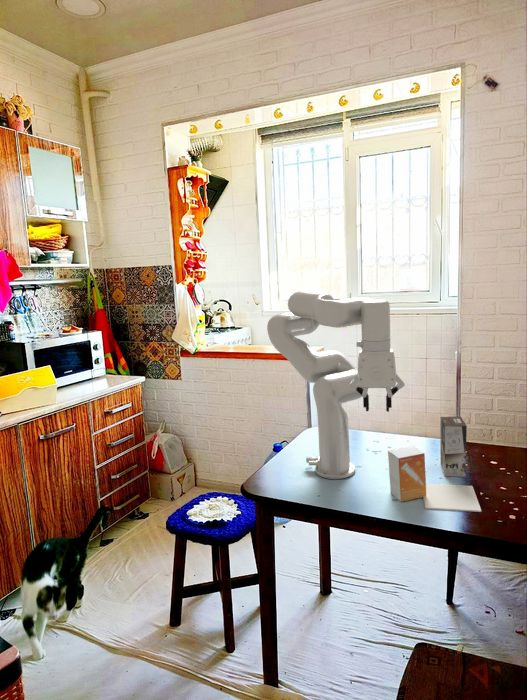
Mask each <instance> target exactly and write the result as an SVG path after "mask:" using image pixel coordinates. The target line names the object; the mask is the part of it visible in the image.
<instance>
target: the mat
mask: <svg viewBox="0 0 527 700" xmlns="http://www.w3.org/2000/svg"><path fill="white" fill-rule="evenodd" d="M422 498H423V503H424V504H423V505H424V508H425V510H439V511H458V512H459V511H460V512H471V513H472V512H474V513H475V512H476V513H477V512H478V513H482V509H481V506H480V503H479V500H478V498H477V495H476V492H475V489H474V487H473V485H463V484H441V483H439V484H438V483H437V484H436V483H426V497H422Z"/></svg>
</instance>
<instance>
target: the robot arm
mask: <svg viewBox="0 0 527 700" xmlns="http://www.w3.org/2000/svg"><path fill="white" fill-rule="evenodd" d="M390 307H391V305H390V302H389V301H388V300H386V299H374V298H369V297H366V296H365V297H364V296H363V297H362V296H361V297H352V298H345V299H344V298H343V299H338V300H337V299H336V300H335V299H334V297H333V296H332V295H331V294H330V293H329V292H328V291H327V290H325V289H321V288H315V289H307V290H305V289H304V290H300V291H297V292H294V293H293V294H291V296H289V298H288V299H287V308H288V310H289V311H287V312H282V313H277V314H275V315H274V316H271V317H270V319H269V320H268V322H267V326H266V328H267V329H266V330H267V335H268V337H269V340H270V342H271V344H272V346H273V348H274V349H275V350H276V351H277V352H279V353H280V354H281V356H283V357H285V358H286V359H287V361H288V362H289V363H290V364H291V365H292V366H293V368H294V369H295V370H296V372H298V374H299V375H300V376H301V377H302V378H303V380H305V381H306V382H307V383H310V384H311V383H312V384H313V387H312V392H313V393H312V394H313V398H314V402H315V406H316V413H317V415H316V416H317V427H318V428H317V431H318V452H319V455H317V456H316V457H315V456H306V457H305V458H306V459H305V461H306V464H308V466H315V468H314V469H315V470H314V471H315V473H316V475H318V476H320V477H322V478H323V479H324V478H325V479H329V480H341V479H346V478H348V477H351V476H353V475H354V474H355V473H356V466H355V465H354V464H353V463H352V462H351V459H350V457H351V456H350V434H349V433H350V432H349V431H350V430H349V427H350V426H349V417H348V414H347V412H346V411H345V410H344V408H343V404H346V403H349V402H352V401H356V400H358V399H361V398H362V399H363V400H362V402H363V403H362V405H363V408H365V412H368V411H370V403H369V402H370V397H369V396H370V395H369V393H368V392H369V389H385V391H386V396H385V407H386V408H385V410H386V412H388V413H389V412H390V409H392V404H393V403H392V398H393V396H394V395H395V394H396V393H397V392H399V390H401V389H402V388H403V387H405V382H404V381H403V379H402V378H401V377H400V376H399V375H398V374H397V369H396V357H395V353H394V349H392V348H391V308H390ZM320 325H321V326H325V327H331V328H337V329H338V328H340V329H341V328H347V327H352V326H358V325H360V326H361V340H360V341H356V347H359V348H361V350H359V353H358V357H357V367H356V366H355V365H354V364H353V363H352V362H351V360H349V359H348V358H347V357H346V355H344V354H343V353H342V352H340V351H338V350H334V349H330V350H325V351H324V350H323V351H316V350H314V349H313V348H312V347H311V346H310V345H309V344H308V343H307V342H306V341H304V340H302V339H301V338H298V336H304V335H309V334H312V333H313V332H314V331H316V330H317V329H318V328H319V326H320ZM285 358H284V359H285Z"/></svg>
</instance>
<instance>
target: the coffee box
mask: <svg viewBox="0 0 527 700" xmlns="http://www.w3.org/2000/svg"><path fill="white" fill-rule="evenodd" d="M439 420H440V421H439V422H440V426H439V427H440V429H439V430H440V431H439V433H440V441H439V444H440V448H439V449H440V451H439V452H440V462H439V463H440V466H441V467H440V468H441V470H442V472H443V475H444V477H466V476H467V473H466V472H467V471H466V469H467V432H468V431H467V428H468V426H467V424H466V422H465V421H464V419H463V418H462V416H440V419H439Z"/></svg>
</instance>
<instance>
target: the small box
mask: <svg viewBox="0 0 527 700" xmlns="http://www.w3.org/2000/svg"><path fill="white" fill-rule="evenodd" d="M387 454H388V455H387V457H388V471H389V473H388V475H389V490H390V491H389V492H390V493H391V494H392V496H394V497H395V499H397V501H399V502H406V501H410V500H414V499H419V498H420V499H421V498H423V497H426V484H427V482H426V480H427V478H426V475H427V474H426V459H425V458H426V456H425V452H424V451H422V450H420V449H419V448H418V447H416V446H415V445H410V446H405V447H399V448H396V449H395V448H394V449H390V450H387Z"/></svg>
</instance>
